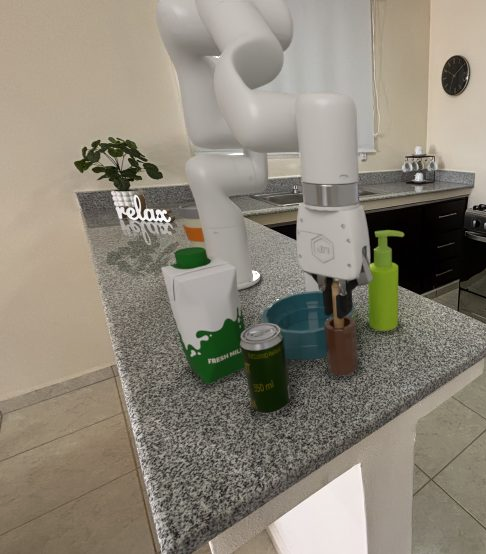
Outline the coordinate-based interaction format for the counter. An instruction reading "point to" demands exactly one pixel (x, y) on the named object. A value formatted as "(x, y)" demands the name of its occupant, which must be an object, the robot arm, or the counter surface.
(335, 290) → the stick
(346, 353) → the utensil cup
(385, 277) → the soap dispenser
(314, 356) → the bowl
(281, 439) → the counter surface
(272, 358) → the beer can
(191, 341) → the milk carton
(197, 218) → the reusable coffee cup
